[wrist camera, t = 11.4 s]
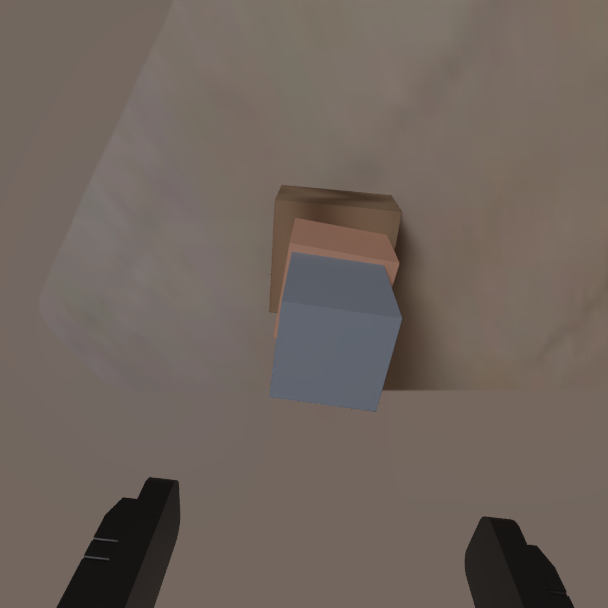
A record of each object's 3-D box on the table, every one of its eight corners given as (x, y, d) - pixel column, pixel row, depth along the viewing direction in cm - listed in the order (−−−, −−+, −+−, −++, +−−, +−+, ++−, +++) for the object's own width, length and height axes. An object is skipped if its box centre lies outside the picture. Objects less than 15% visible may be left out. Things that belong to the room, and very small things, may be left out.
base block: (390, 194, 31) (402, 211, 26) (373, 292, 34) (380, 322, 30) (282, 184, 31) (274, 199, 26) (276, 283, 34) (269, 312, 30)
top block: (387, 235, 27) (399, 263, 22) (364, 315, 30) (371, 354, 25) (295, 217, 27) (289, 242, 22) (281, 300, 29) (273, 337, 25)
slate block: (383, 265, 22) (402, 318, 17) (365, 342, 25) (375, 411, 19) (291, 251, 22) (281, 301, 17) (281, 330, 25) (269, 397, 19)
